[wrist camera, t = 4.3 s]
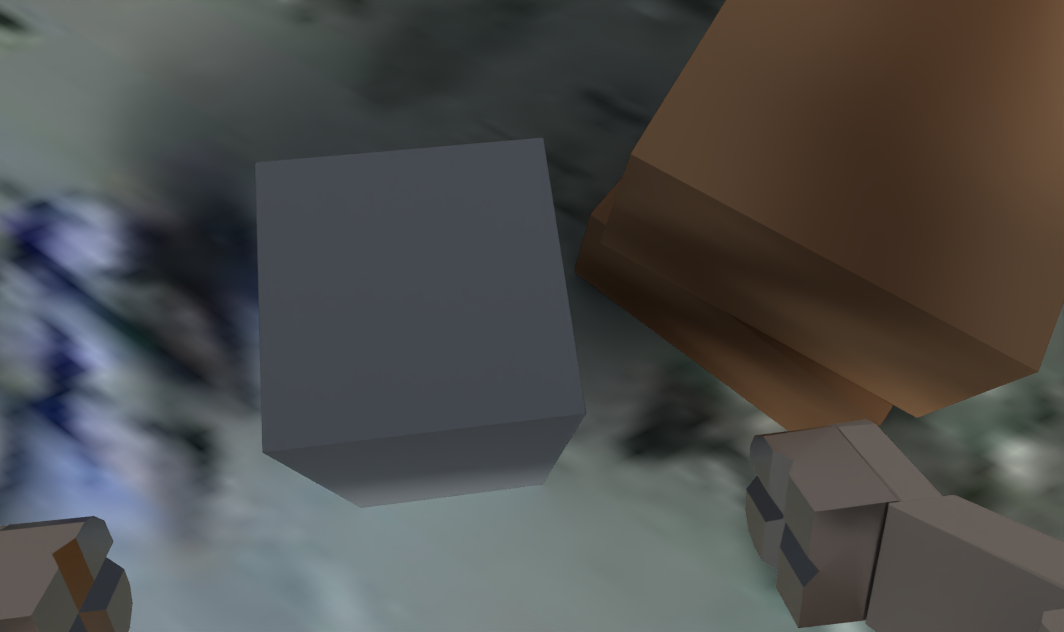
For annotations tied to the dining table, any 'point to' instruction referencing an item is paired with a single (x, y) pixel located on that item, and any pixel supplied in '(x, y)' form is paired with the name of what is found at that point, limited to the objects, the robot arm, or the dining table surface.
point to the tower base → (725, 341)
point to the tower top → (866, 186)
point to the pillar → (415, 321)
